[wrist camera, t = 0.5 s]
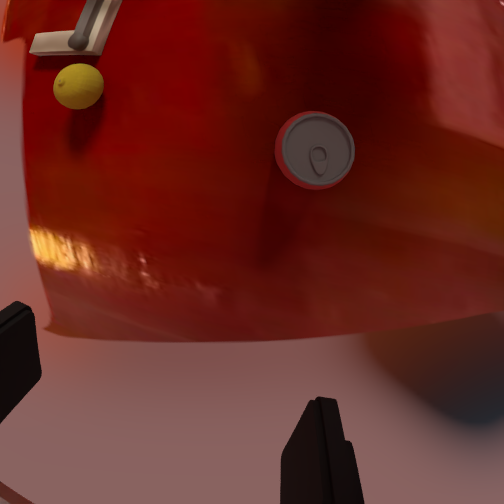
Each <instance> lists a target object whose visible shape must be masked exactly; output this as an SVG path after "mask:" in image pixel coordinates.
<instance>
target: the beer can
mask: <svg viewBox="0 0 504 504" xmlns="http://www.w3.org/2000/svg"><path fill="white" fill-rule="evenodd" d="M354 154H355V146H354V142H353V138H352V135H351V134H350V132H349V130H348V129H347V127H346V126H345V125H344V124H343V123H342V122H341V121H339V120H338V119H337V118H336V117H334V116H332V115H329V114H327V113H325V112H319V111H307V112H303V113H299V114H297V115H295V116H293V117H292V118H290V119H288V120H287V121H286V123H285V124H284V125H283V126H282V127H281V128H280V130H279V133H278V135H277V138H276V140H275V158H276V162H277V165H278V166H279V168H280V170H281V171H282V173H283V174H284V176H285V177H287V178H288V179H289V180H290V181H291V182H293V183H294V184H295V185H298V186H300V187H303V188H305V189H312V190H321V189H326V188H330V187H332V186H334V185H335V184H337V183H339V182H340V181H342V179H343V178H344V177H345V176H346V175H347V174H348V173H349V171H350V169H351V166H352V164H353V161H354Z"/></svg>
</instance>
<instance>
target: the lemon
mask: <svg viewBox="0 0 504 504" xmlns="http://www.w3.org/2000/svg"><path fill="white" fill-rule="evenodd" d="M103 87H104V83H103V78H102V75H101V74H100V73H99V71H98V70H97V69H95V68H94V67H92V66H90V65H86V64H73V65H70V66H67V67H66V68H64V69H63V70H62V71H61V72H60V73H59V74H58V76H57V77H56V79H55V82H54V89H53V90H54V95H55V97H56V99H57V100H58V101H59V102H60V103H61V104H62V105H64V106H66V107H68V108H71V109H84V108H87V107H89V106H91V105H93V104H94V103H95V102H96V101H97V100H98V99H99V98H100V96H101V94H102V91H103Z"/></svg>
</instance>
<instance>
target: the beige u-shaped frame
mask: <svg viewBox="0 0 504 504" xmlns="http://www.w3.org/2000/svg"><path fill="white" fill-rule="evenodd" d="M121 2H122V0H87V2H86V4H85V7H84V9H83V11H82V14H81V16H80V18H79V21H78V23H77V26H76V28H75V31H60V32H48V33H39V34H36V35H35V38H34V41H33V43H32V46H31V49H30V52H29V53H32V54H35V55H38V56H46V55H101V53H102V50H103V48H104V45H105V42H106V39H107V37H108V34H109V31H110V29H111V26H112V24H113V21H114V19H115V16H116V14H117V11H118V9H119V7H120V4H121Z"/></svg>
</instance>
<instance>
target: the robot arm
mask: <svg viewBox="0 0 504 504" xmlns="http://www.w3.org/2000/svg"><path fill="white" fill-rule="evenodd" d="M41 374H42V370H41V365H40V358H39V351H38V343H37V335H36V325H35V316H34V313H33V312H32V310H31V308H30V307H29V306H27V305H26V304H23V303H21V302H19V301H15V302H13V303H12V304H11V305H9V306H7V307H6V308H4V309H3V310H1V311H0V423H1V422H2V421H3V420H4V419H5V418H6V416H7V415H8V414H9V413H10V412H11V411H12V410H13V408H14V407H15V406H16V405H17V404H18V403H19V402H20V401H21V400H22V399H23V397H24V396H25V395H26V394H27V393H28V392H29V391H30V390H31V389H32V388H33V386H34V385H35V384H36V383H37V382H38V381H39V380H40V378H41ZM0 504H34V503H32V502H31V501H29V500H27V499H26V498H24V497H23V496H21V495H20V494H18V493H16V492H15V491H13V490H12V489H10V488H9V487H7V486H6V485H4V484H3V483H2V482H0ZM280 504H364V498H363V493H362V488H361V483H360V478H359V473H358V468H357V463H356V458H355V454H354V449H353V446H352V443H351V442H350V441H346V440H345V438H344V432H343V428H342V423H341V418H340V414H339V409H338V404H337V401H336V399H332V398H325V397H317V398H316V399H315V400H310V401H309V402H308V404H307V406H306V408H305V410H304V412H303V414H302V416H301V418H300V420H299V422H298V424H297V426H296V428H295V430H294V432H293V433H292V435H291V437H290V439H289V441H288V443H287V445H286V446H285V448H284V450H283V452H282V456H281V487H280Z"/></svg>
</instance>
